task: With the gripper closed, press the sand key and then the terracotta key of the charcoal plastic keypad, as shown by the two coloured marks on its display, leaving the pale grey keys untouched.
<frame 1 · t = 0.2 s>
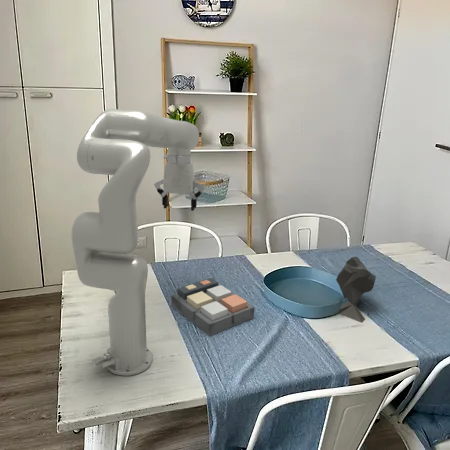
hand: (179, 208, 150), 31 cm above the table, tool pointing down, fingers open, 9 cm apart
key sand: (199, 301, 142), point 5 cm above the table, slide at 0.0 cm
key grey front: (214, 311, 136), point 5 cm above the table, slide at 0.0 cm
keypad: (211, 311, 145), on the table
dark faceted sculpture: (351, 306, 152), on the table
key terracotta: (234, 304, 141), point 4 cm above the table, slide at 0.0 cm
cup: (124, 299, 151), on the table
key grey back: (219, 294, 147), point 4 cm above the table, slide at 0.0 cm
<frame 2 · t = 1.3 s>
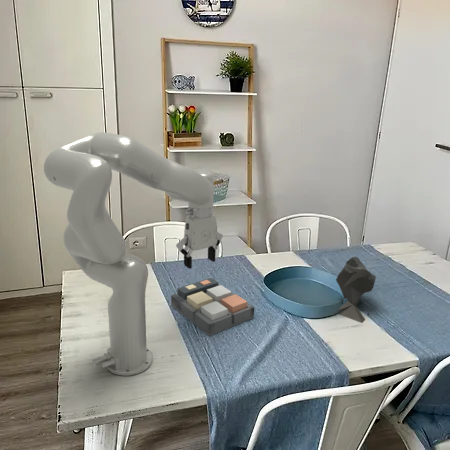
hand: (199, 263, 138), 18 cm above the table, tool pointing down, fingers open, 8 cm apart
nothing on the table moved.
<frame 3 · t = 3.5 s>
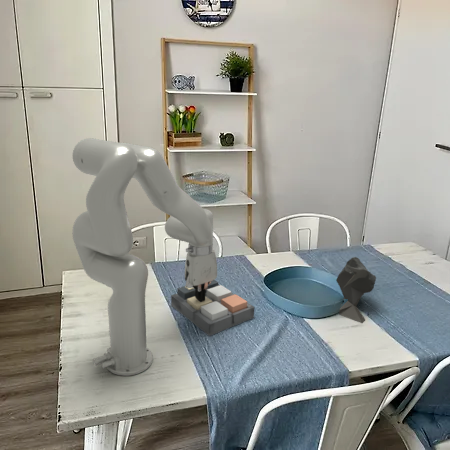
hand: (200, 299, 142), 5 cm above the table, tool pointing down, fingers closed
key sand: (199, 304, 143), point 4 cm above the table, slide at 1.0 cm, touching gripper
everything else where it was.
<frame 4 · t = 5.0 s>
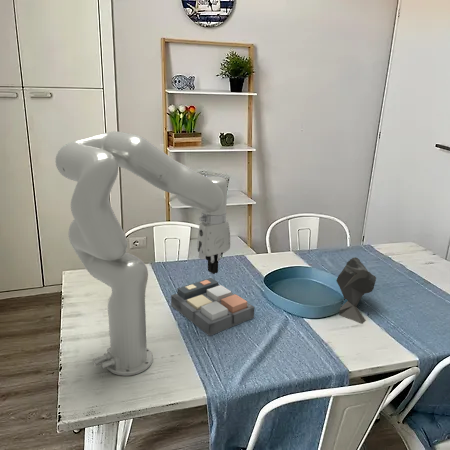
hand: (212, 271, 139), 15 cm above the table, tool pointing down, fingers closed
key sand: (199, 304, 143), point 3 cm above the table, slide at 1.3 cm
everything else where it was.
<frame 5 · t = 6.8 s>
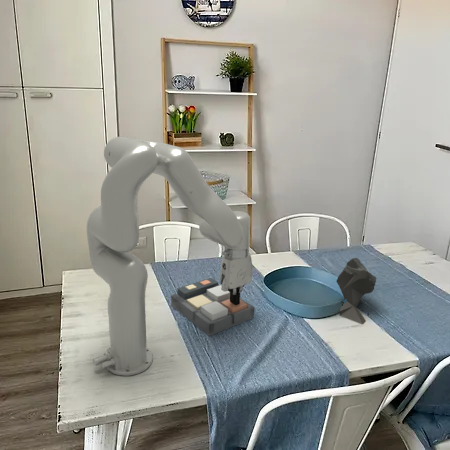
hand: (234, 302, 141), 5 cm above the table, tool pointing down, fingers closed
key terracotta: (233, 307, 142), point 3 cm above the table, slide at 1.0 cm, touching gripper
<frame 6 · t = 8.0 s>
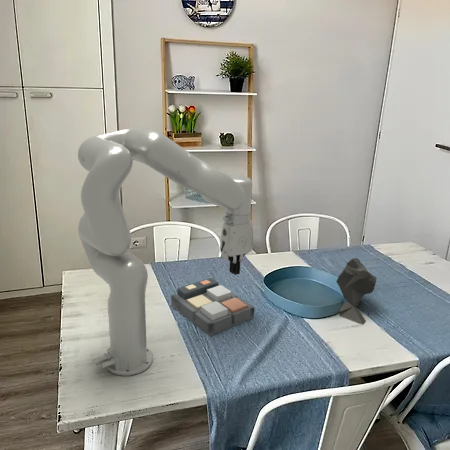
hand: (234, 272, 137), 16 cm above the table, tool pointing down, fingers closed
key terracotta: (233, 307, 142), point 3 cm above the table, slide at 1.2 cm
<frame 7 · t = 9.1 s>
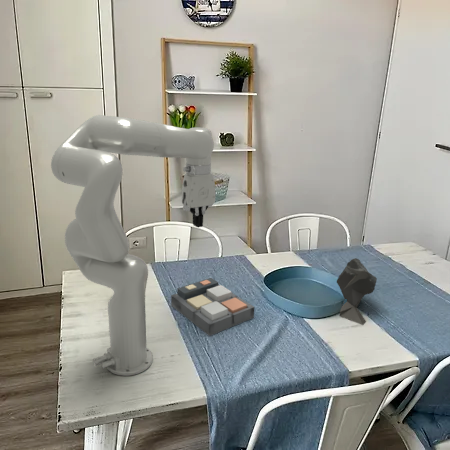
hand: (197, 225, 139), 29 cm above the table, tool pointing down, fingers closed
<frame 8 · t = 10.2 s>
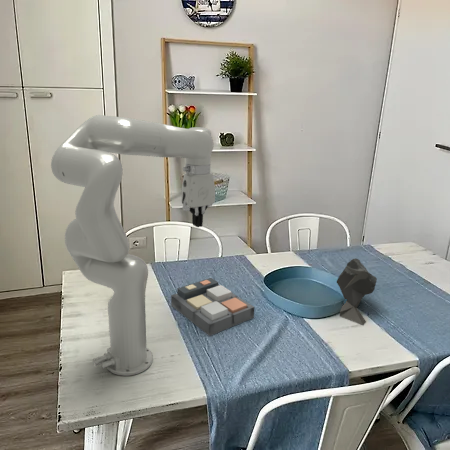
hand: (197, 225, 139), 29 cm above the table, tool pointing down, fingers closed
at the end: key sand slide at 1.3 cm; key terracotta slide at 1.2 cm; key grey front slide at 0.0 cm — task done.
